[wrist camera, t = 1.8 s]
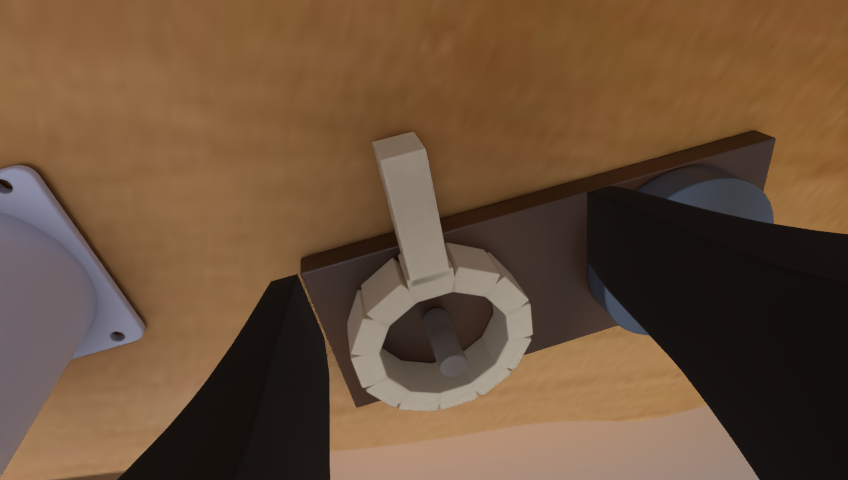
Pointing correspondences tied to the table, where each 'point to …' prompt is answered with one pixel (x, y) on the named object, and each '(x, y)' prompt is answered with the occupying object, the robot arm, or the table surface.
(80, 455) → the table surface
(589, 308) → the rack
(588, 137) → the table surface
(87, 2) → the table surface
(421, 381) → the ring
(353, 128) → the table surface
